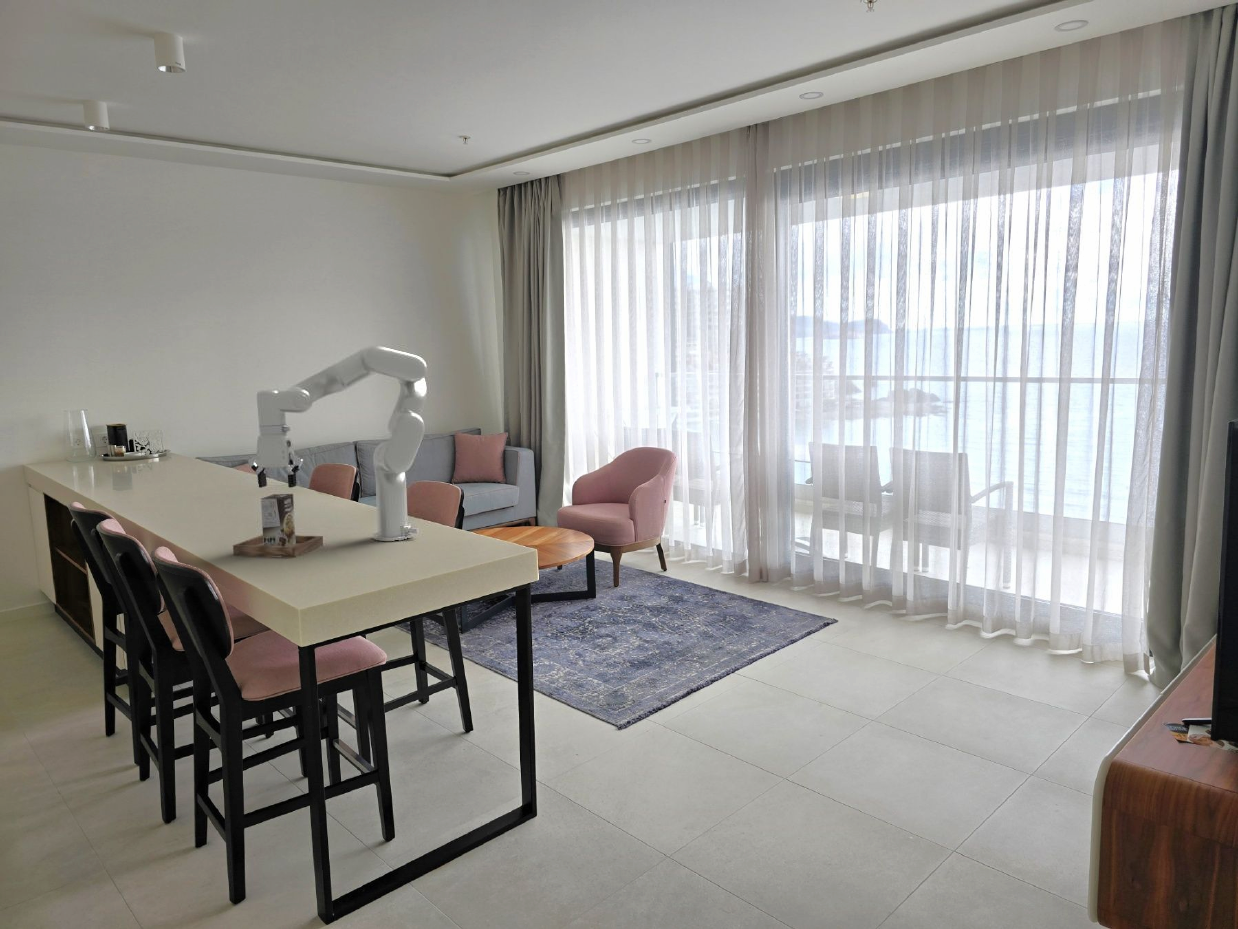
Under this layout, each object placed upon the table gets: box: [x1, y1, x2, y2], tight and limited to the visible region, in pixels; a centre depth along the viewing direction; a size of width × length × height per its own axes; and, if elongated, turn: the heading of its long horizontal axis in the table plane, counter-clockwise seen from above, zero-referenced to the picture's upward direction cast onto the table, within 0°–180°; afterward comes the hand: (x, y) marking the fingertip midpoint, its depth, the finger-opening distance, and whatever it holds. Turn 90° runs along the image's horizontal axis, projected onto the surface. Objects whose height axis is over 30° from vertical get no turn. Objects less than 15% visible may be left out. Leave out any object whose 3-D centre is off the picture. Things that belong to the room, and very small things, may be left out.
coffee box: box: [260, 493, 296, 547], centre depth 249 cm, size 9×6×16 cm
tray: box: [232, 534, 324, 558], centre depth 250 cm, size 20×16×3 cm
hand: (277, 486), depth 248 cm, fingers open, 9 cm apart
